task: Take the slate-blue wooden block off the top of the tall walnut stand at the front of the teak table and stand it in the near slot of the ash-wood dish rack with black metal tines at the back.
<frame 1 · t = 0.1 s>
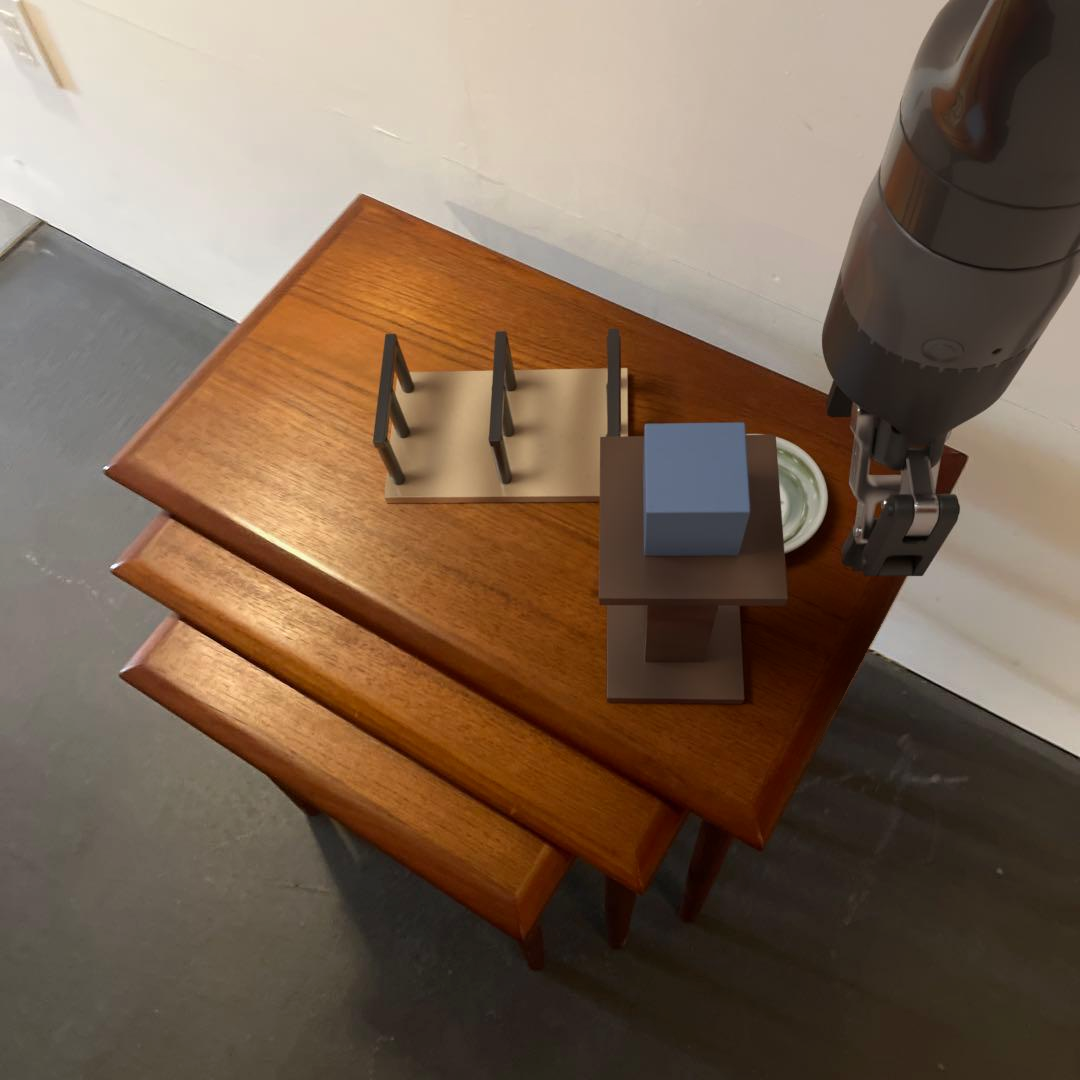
hand: (854, 482, 50), 19 cm above the table, tool pointing down, fingers open, 8 cm apart
stand: (672, 639, 67), on the table
block: (689, 513, 48), point 20 cm above the table, touching stand
saucer: (753, 508, 70), on the table
rack: (509, 437, 74), on the table
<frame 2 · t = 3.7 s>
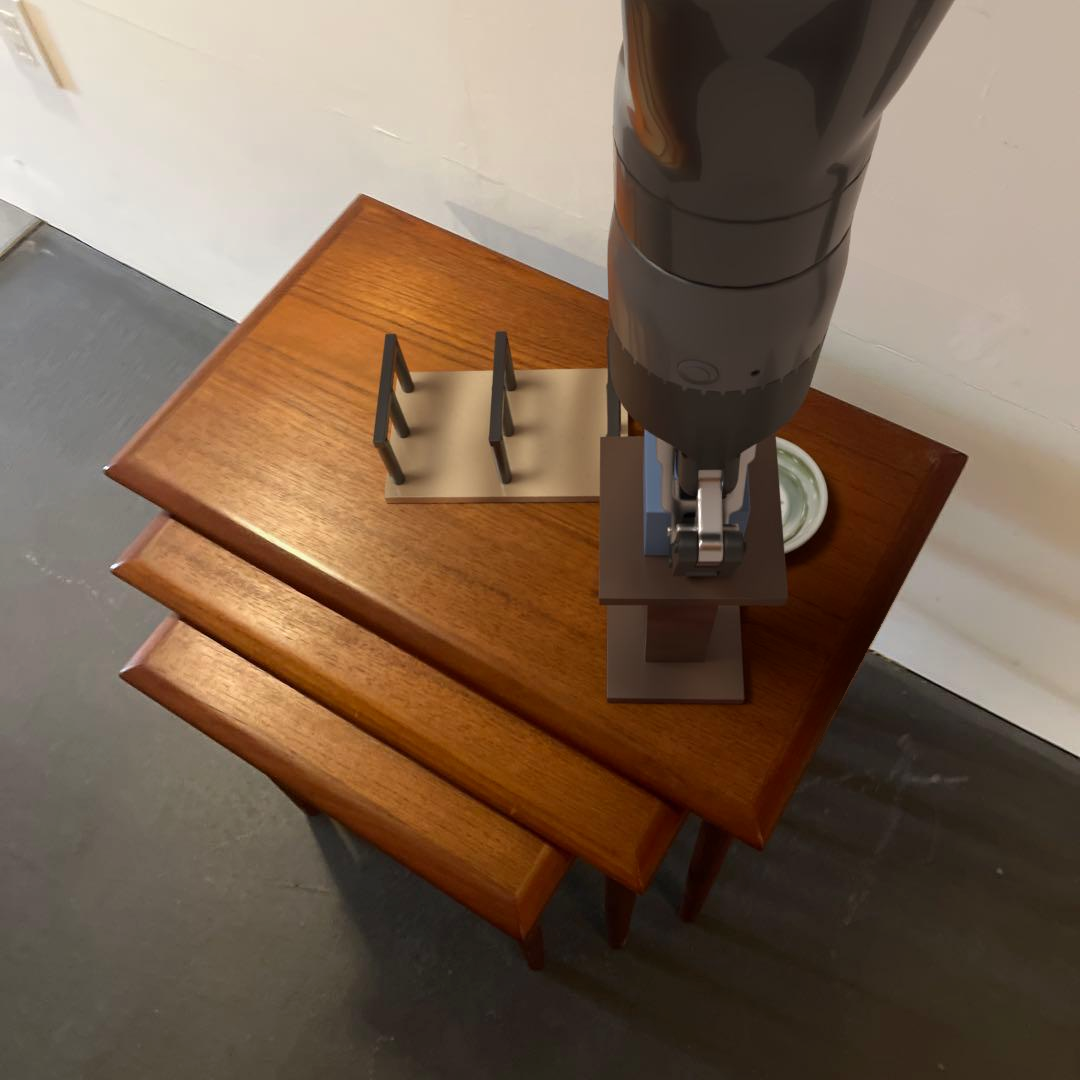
hand: (690, 510, 48), 20 cm above the table, tool pointing down, fingers closed on block, 4 cm apart
block: (689, 513, 48), point 20 cm above the table, touching gripper, stand
everything else where it was.
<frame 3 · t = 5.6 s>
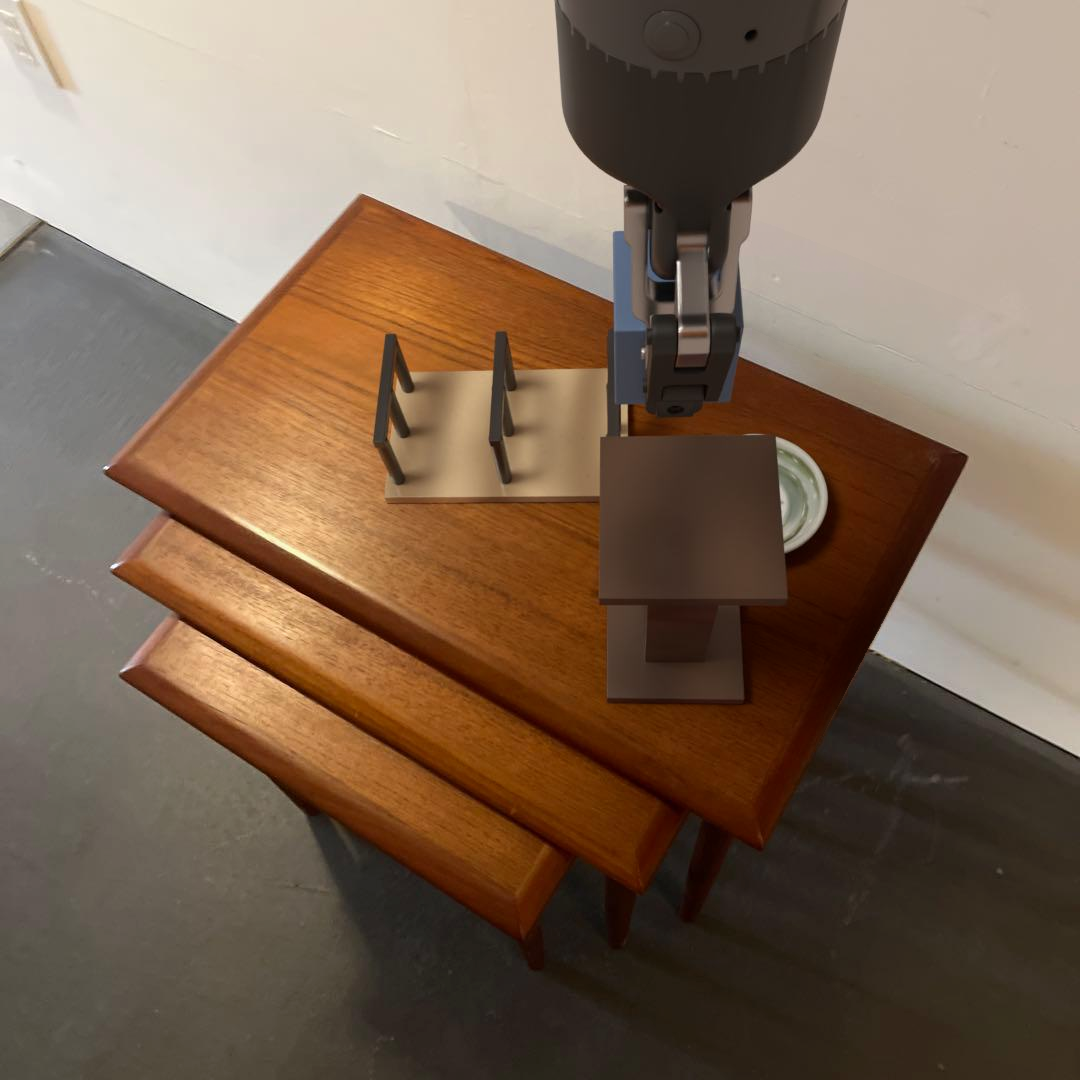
hand: (670, 350, 40), 31 cm above the table, tool pointing down, fingers closed on block, 4 cm apart
block: (670, 356, 40), point 30 cm above the table, touching gripper
everything else where it was.
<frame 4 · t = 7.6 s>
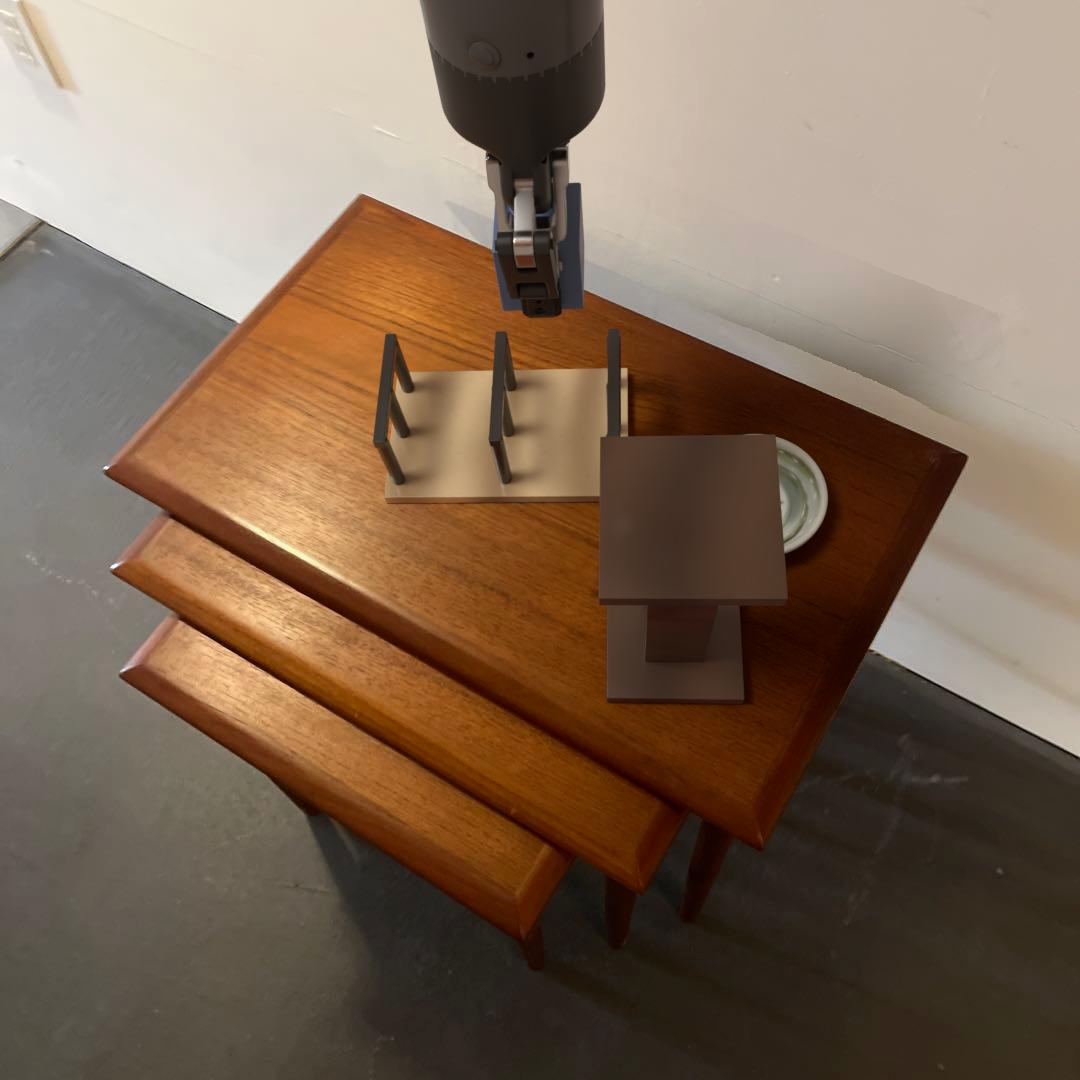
hand: (544, 273, 56), 20 cm above the table, tool pointing down, fingers closed on block, 4 cm apart
block: (544, 277, 56), point 19 cm above the table, touching gripper
everything else where it was.
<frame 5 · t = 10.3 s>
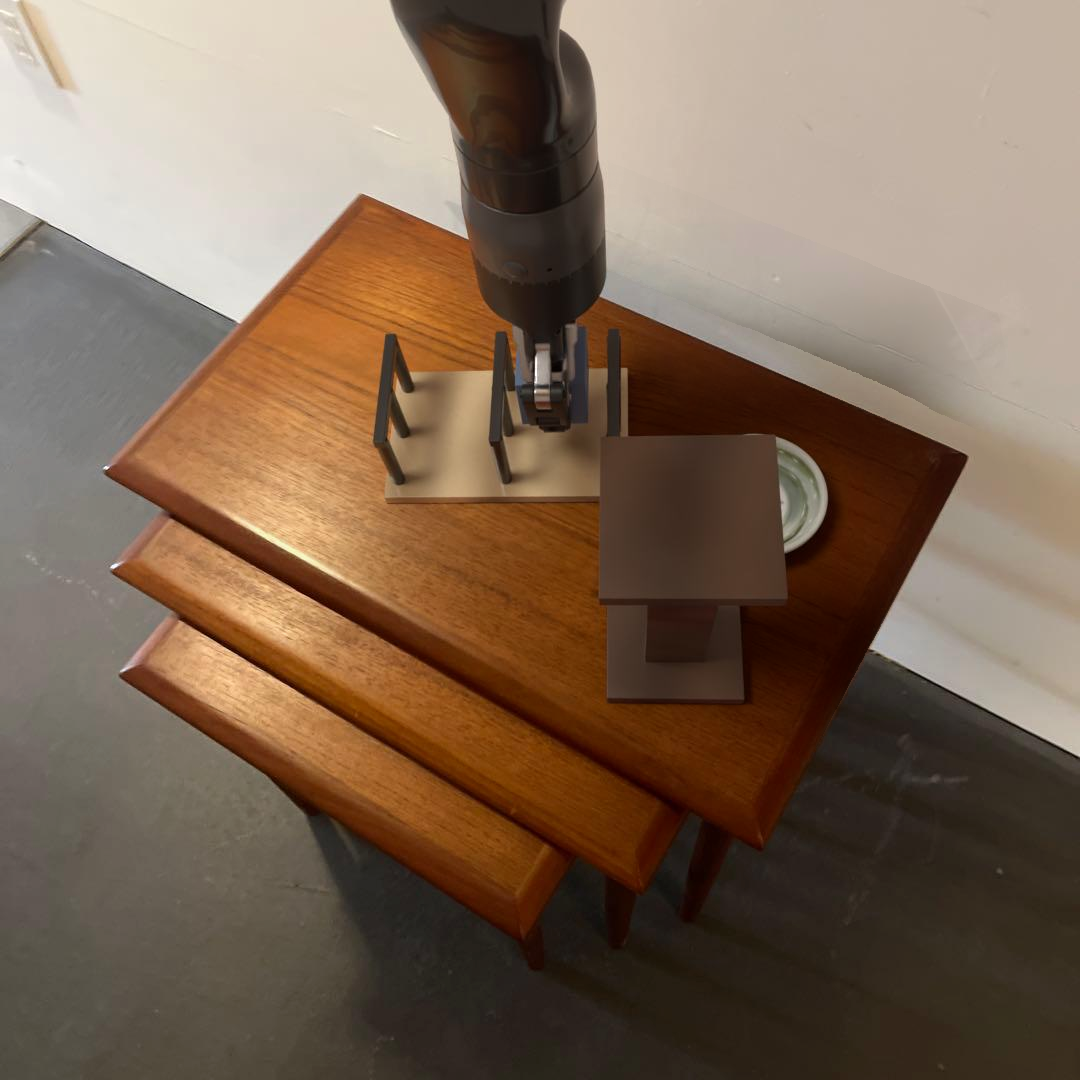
hand: (556, 393, 68), 6 cm above the table, tool pointing down, fingers closed on block, 4 cm apart
block: (555, 396, 68), point 6 cm above the table, touching gripper
everything else where it was.
when the fingers open (1 cm above the table, at t = 11.9 s): block stays where it is, resting on rack.
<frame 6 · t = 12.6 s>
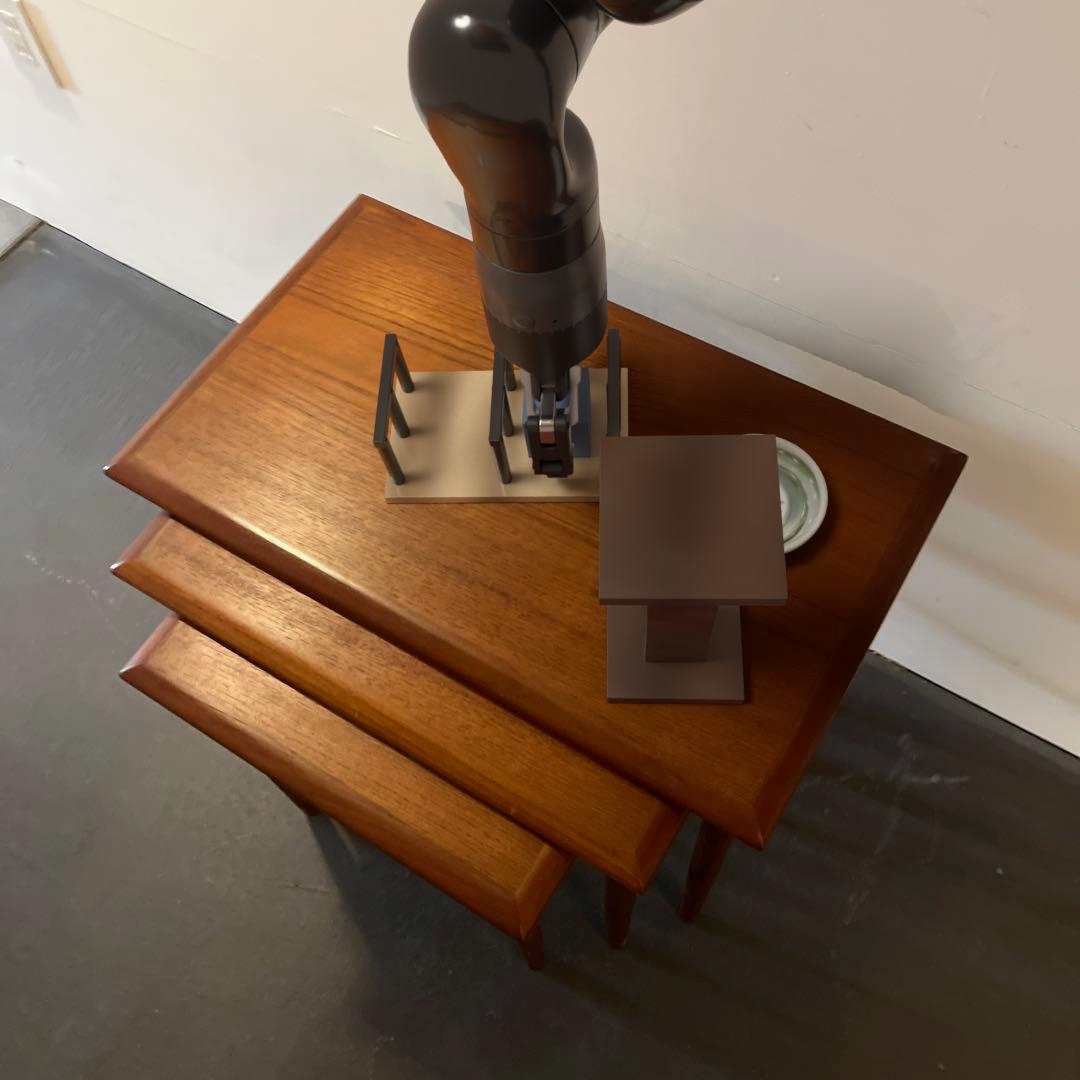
hand: (560, 420, 71), 3 cm above the table, tool pointing down, fingers open, 8 cm apart
block: (560, 430, 73), point 1 cm above the table, touching rack
everything else where it was.
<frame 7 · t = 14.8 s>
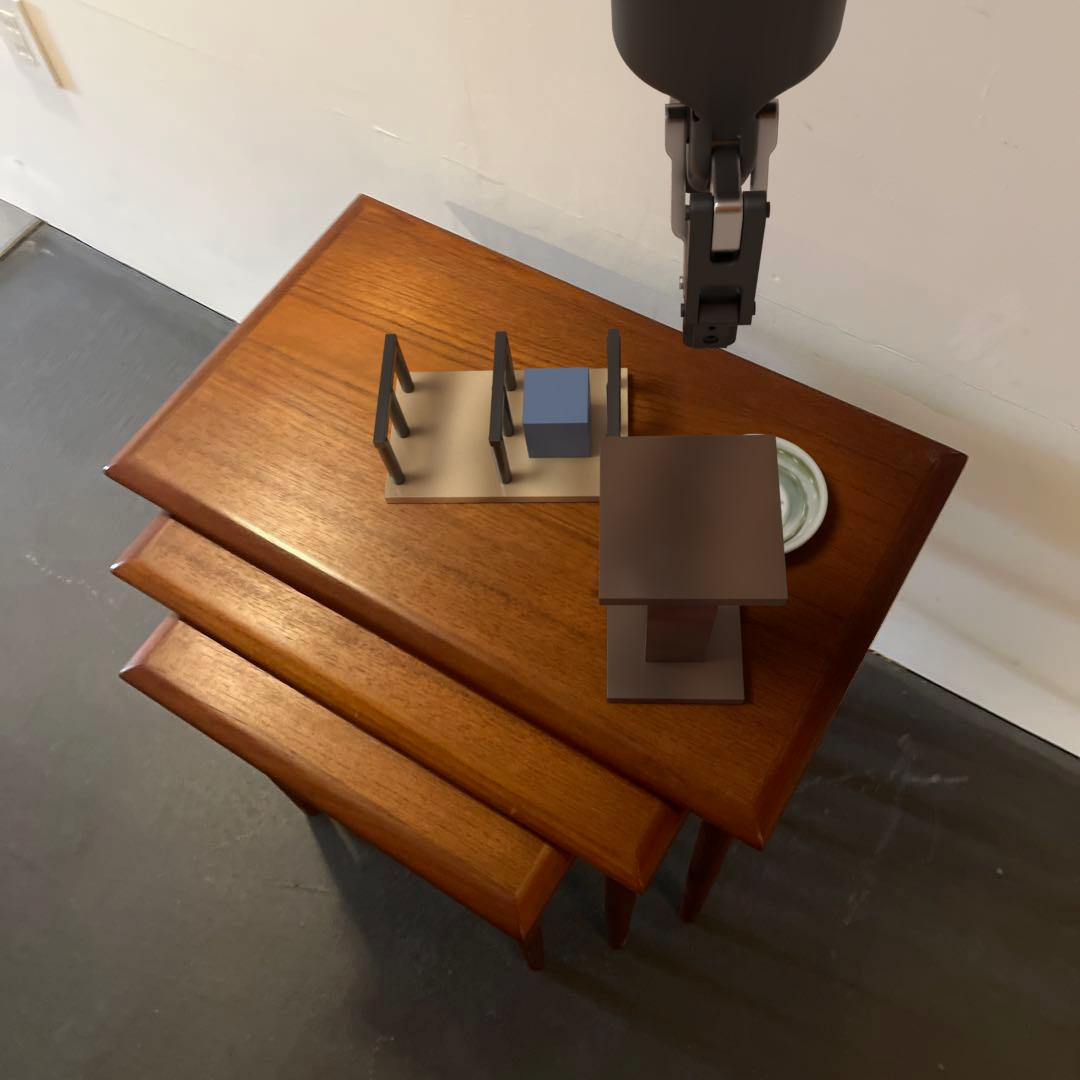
hand: (705, 260, 43), 29 cm above the table, tool pointing down, fingers open, 8 cm apart
nothing on the table moved.
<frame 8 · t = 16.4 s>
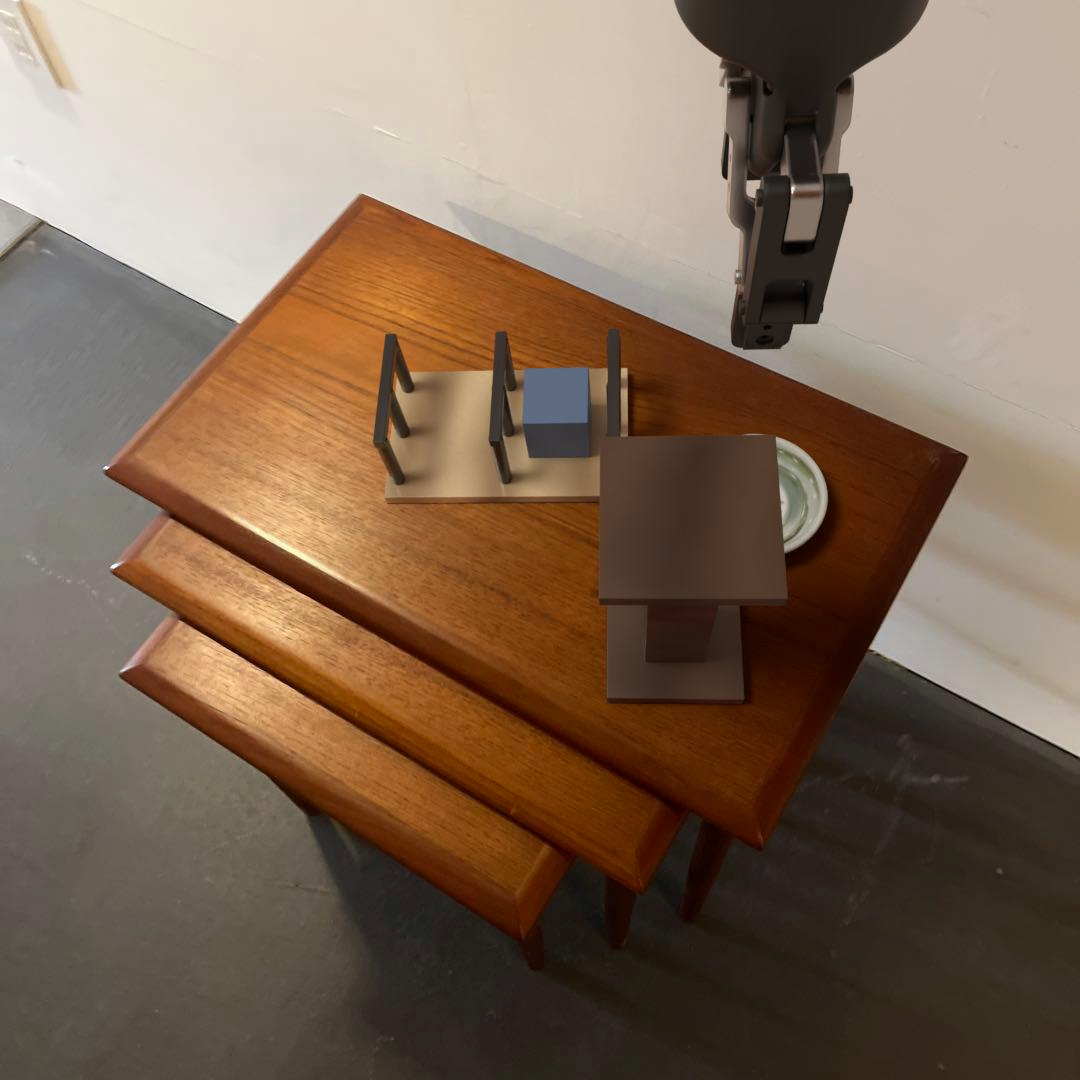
hand: (752, 253, 40), 32 cm above the table, tool pointing down, fingers open, 8 cm apart
nothing on the table moved.
at the end: block 0.1 cm from the target spot on the rack, point 1.0 cm above the rack's base; block tilted 0°; the gripper is holding nothing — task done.
